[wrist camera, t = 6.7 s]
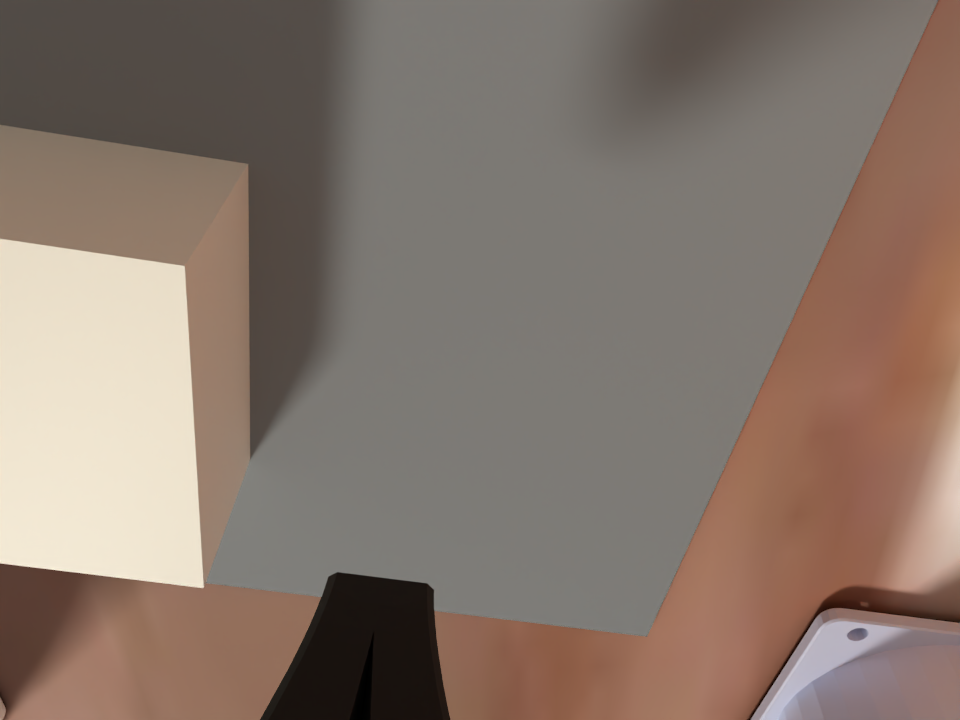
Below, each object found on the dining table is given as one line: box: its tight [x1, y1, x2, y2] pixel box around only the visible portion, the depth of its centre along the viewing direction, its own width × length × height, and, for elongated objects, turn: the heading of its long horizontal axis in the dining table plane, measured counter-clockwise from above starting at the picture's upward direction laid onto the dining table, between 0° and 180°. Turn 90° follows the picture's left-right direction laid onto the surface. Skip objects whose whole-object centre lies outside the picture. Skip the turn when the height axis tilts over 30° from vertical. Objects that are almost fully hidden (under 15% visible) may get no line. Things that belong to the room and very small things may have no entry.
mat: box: [0, 0, 938, 637], centre depth 17 cm, size 20×16×1 cm
